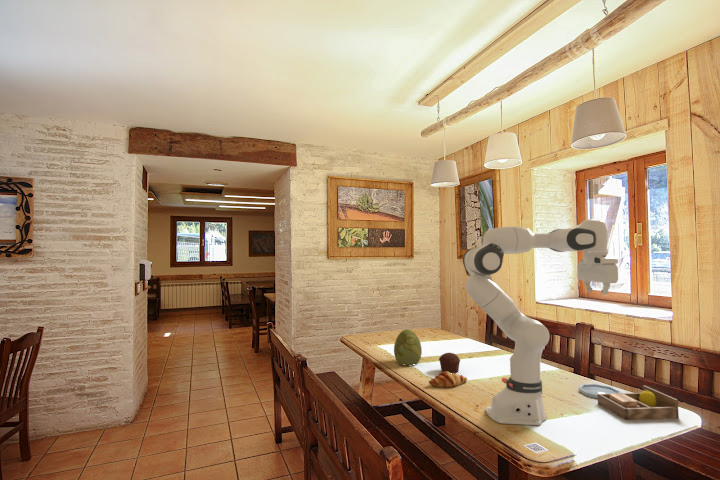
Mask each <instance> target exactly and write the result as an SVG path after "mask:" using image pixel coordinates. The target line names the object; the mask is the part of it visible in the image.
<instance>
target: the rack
mask: <svg viewBox="0 0 720 480" xmlns="http://www.w3.org/2000/svg"><path fill="white" fill-rule="evenodd" d="M646 390H648V391H650V392H652V393H653V394H654V395H655V398H656V406H655V407H649V406H647V405H645V404H643V403H641V402H640V400H639V396H640V394H641V392H621V393H613V394H624V395H626V396H628V397H630V398H632V399H634V400H636V401H637V405H638V406H640V408H625V407H623V406H621V405H619V404H618V403H616V402H614V401H612V400H610V397H609V394H598V399H597V404H598V405H600V406H602V407H603V408H605V409H607V410H608V411H611V413H614V414H615V415H617V416H618V417H621V418H622V419H624V420H625V421H629V420H631V421H632V420H663V419H662V418H667V419H679V417H680V416H679V400H678V399H677V398H675V397H673V396H670V395H667V394H665V393H664V392H660V391H659V390H657V389H654V388H652V387H650V386H647V385H642V392H643V391H646ZM659 418H660V419H659Z"/></svg>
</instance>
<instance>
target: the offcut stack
mask: <svg viewBox="0 0 720 480" xmlns="http://www.w3.org/2000/svg"><path fill="white" fill-rule="evenodd" d="M609 397H610V400H612V401H614V402H616V403H618V404H619V405H621V406H623V407H625V408H640V406H638V405H637V401H636V400H634V399H632V398H630V397H628V396H626V395H624V394H609Z"/></svg>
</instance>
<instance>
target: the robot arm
mask: <svg viewBox="0 0 720 480" xmlns="http://www.w3.org/2000/svg"><path fill="white" fill-rule="evenodd" d="M608 240H609V239H608V229H607V225H606V223H605V222H604V221H603V220H600V219H596V218H595V219H591V218H587V219H584V220H583V221H582V222H581V223H579V224H577V225H576V226H573V227H568V228H556V229H554V230H551V231H550V232H546V233H545V232H543V233H541V232H540V233H538V232H534V233H533V232H532V231H531V230H530V229H529V228H527V227H522V226H501V227H500V226H499V227H495V228H490V229H488V230H486V231H485V233H484V235H483V238H482V241H483V242H482V245H481V246H478V247H472V248H469V249H468V250H466V252H465V253H464V254H463V256H462V264H463V267H464V270H465V273H466V275H467V276H468V277H467V278H466V280H465V283H464V288H465V290H466V292H467V293H468V295H469V296H470V298H472V300H473V301H474V303H476V304H477V306H479V307H480V308H481V309H482V310H483V312H485V313H486V314H487V315H488V316H489V317H490V318H491V319H492V320H493V321H494V323H495V324H496V325H497V327H498V328H499V329H500V330H501V331H502V332H503V333H504V334H505V336H506V337H507V338H508V339H510V340H512V341H514V344H515V345H514V350H513V353H512V354H511V356H510V359H509V362H510V363H509V366H510V367H509V369H510V371H509V372H510V376H509V378H507V377H505V376H503V377H502V378H501V382H502V383H504V384H505V385H506V386H505V387H504V388H502V390H500V391H499V392H497V393H495V394H494V395H493V396H492V399H491V406H490V405H489V406H486V407H485V413H486V415H487V416H488V417H489V418H491V420H493V421H494V422H496V423H499V424H507V425H508V424H510V425H523V426H524V425H525V426H541V425H542V423H543V422H544V421H546V420H547V415H546V412H545V407H544V403H543V396H542V395H543V381H542V379H541V359H542V353H543V351H544V348H545V347H546V346H547V345H548V344H549V341H550V331H549V330H548V328H547V327H546V326H545V325H544V324H543V323H541V322H540V321H539V320H536V319H533V318H531V317H528V316H527V315H525V314H523V313H522V312H521V311H520V309H519V308H518V307H517V305H516V303H515V302H514V300H513V299H512V298H511V297H510V296H509V295H508V294H507V293H506V292H505V291H504V290H503V289H502V288H501V287H500V286H498V284H497V283H496V282H494V280H493V278H492V276H491V275H494V274H496V273H498V272H499V271H500V270H501V268H502V266H503V262H504V261H503V260H504V255H507V254H508V255H509V254H511V255H513V254H515V255H516V254H523V253H528V252H530V251H531V250H532V249H536V248H537V249H539V248H540V249H549V250H551V251H553V252H557V253H565V252H580V251H582V258H581V259H580V260H579V262H578V265H577V272H576V273H577V275H576V276H577V279H578V280H579V281H583V284H584V285H583V286H585V291H586V292H588V293H592V292H593V287H592V286H591V283H592V282H593V283H602V289H601V294H602V295H609V290H610V287H611V284H617V283H618V281H619V270H618V269H619V268H618V264H619V263H618V261H619V260H618V258H617V257H615V256H612V255H611V254H609V249H608V247H607V246H608Z"/></svg>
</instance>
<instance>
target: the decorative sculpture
mask: <svg viewBox="0 0 720 480" xmlns="http://www.w3.org/2000/svg"><path fill="white" fill-rule="evenodd" d="M422 350H423V349H422V345H421V341H420V338H419V337H418V335H417V334H416V333H415V332H414V330H411V329H409V328H407V329H403V330H401V332H399V333H398V335H397V336H396V339H395V342H394V346H393V354H394V358H395V360H396V362H397V363H398V364H399V363H400V364H405V365H413V364H416V365H418V364H419V363H420V360H421V358H422V354H423V353H422V352H423V351H422ZM400 364H399V365H400ZM413 366H414V365H413Z"/></svg>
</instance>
